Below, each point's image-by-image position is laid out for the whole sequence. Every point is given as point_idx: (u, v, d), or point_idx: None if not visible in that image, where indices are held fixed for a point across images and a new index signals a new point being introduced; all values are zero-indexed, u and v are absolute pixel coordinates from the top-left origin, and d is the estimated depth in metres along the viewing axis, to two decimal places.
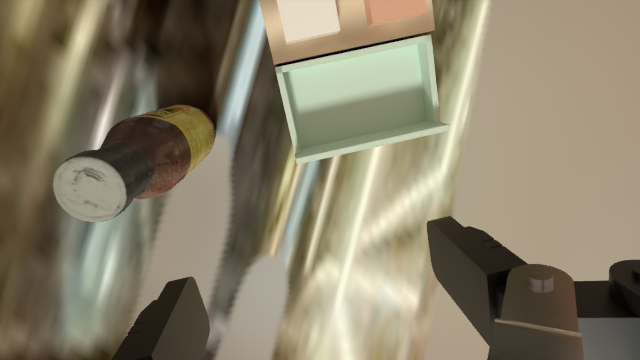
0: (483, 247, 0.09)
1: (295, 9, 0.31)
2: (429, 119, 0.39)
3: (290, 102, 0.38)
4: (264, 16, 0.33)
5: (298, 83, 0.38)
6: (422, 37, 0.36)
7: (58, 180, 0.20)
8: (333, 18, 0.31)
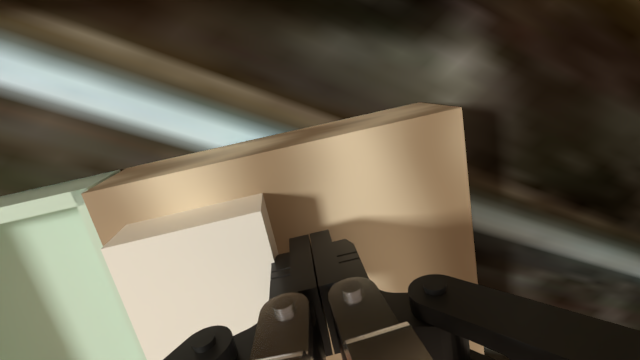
0: (333, 260, 0.10)
1: (192, 269, 0.11)
2: None
3: None
4: (202, 169, 0.13)
5: None
6: None
7: None
8: None
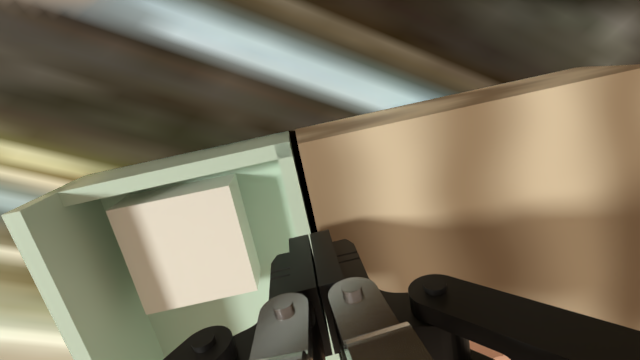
0: (334, 260, 0.10)
1: None
2: None
3: None
4: (410, 122, 0.13)
5: (257, 184, 0.17)
6: None
7: None
8: None
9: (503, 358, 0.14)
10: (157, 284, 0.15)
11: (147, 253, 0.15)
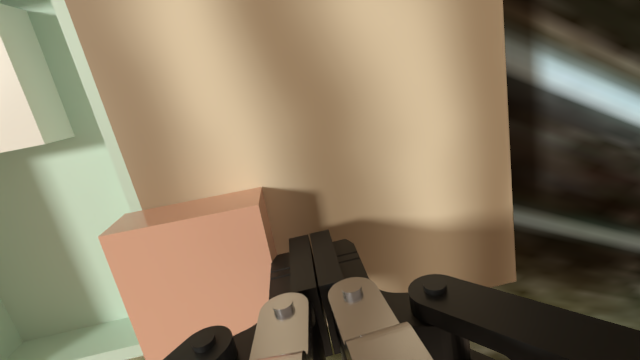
0: (333, 260, 0.10)
1: None
2: (14, 355, 0.17)
3: None
4: None
5: (56, 27, 0.14)
6: None
7: None
8: None
9: (242, 212, 0.11)
10: None
11: None
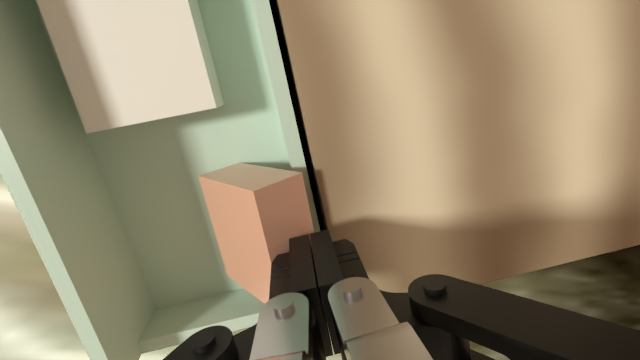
0: (333, 260, 0.10)
1: None
2: (153, 320, 0.17)
3: None
4: None
5: None
6: None
7: None
8: None
9: (246, 192, 0.12)
10: (98, 93, 0.13)
11: (85, 51, 0.13)
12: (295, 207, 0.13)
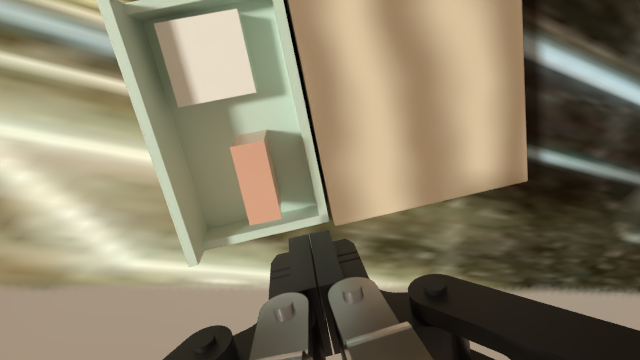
0: (333, 260, 0.10)
1: None
2: (209, 233, 0.26)
3: (223, 8, 0.23)
4: None
5: (256, 24, 0.24)
6: (325, 210, 0.25)
7: None
8: None
9: None
10: (186, 83, 0.22)
11: (180, 58, 0.22)
12: (258, 161, 0.21)
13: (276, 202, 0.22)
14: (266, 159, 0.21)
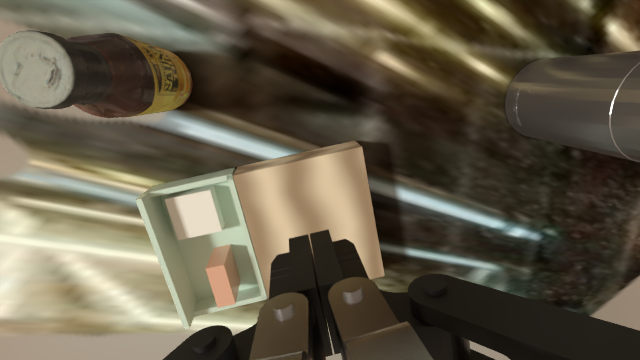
0: (333, 260, 0.10)
1: None
2: (197, 304, 0.44)
3: None
4: (272, 168, 0.37)
5: (222, 189, 0.41)
6: (264, 292, 0.42)
7: (41, 39, 0.18)
8: None
9: (206, 267, 0.39)
10: (182, 228, 0.40)
11: (179, 215, 0.39)
12: (221, 275, 0.38)
13: (232, 295, 0.39)
14: (225, 274, 0.38)
